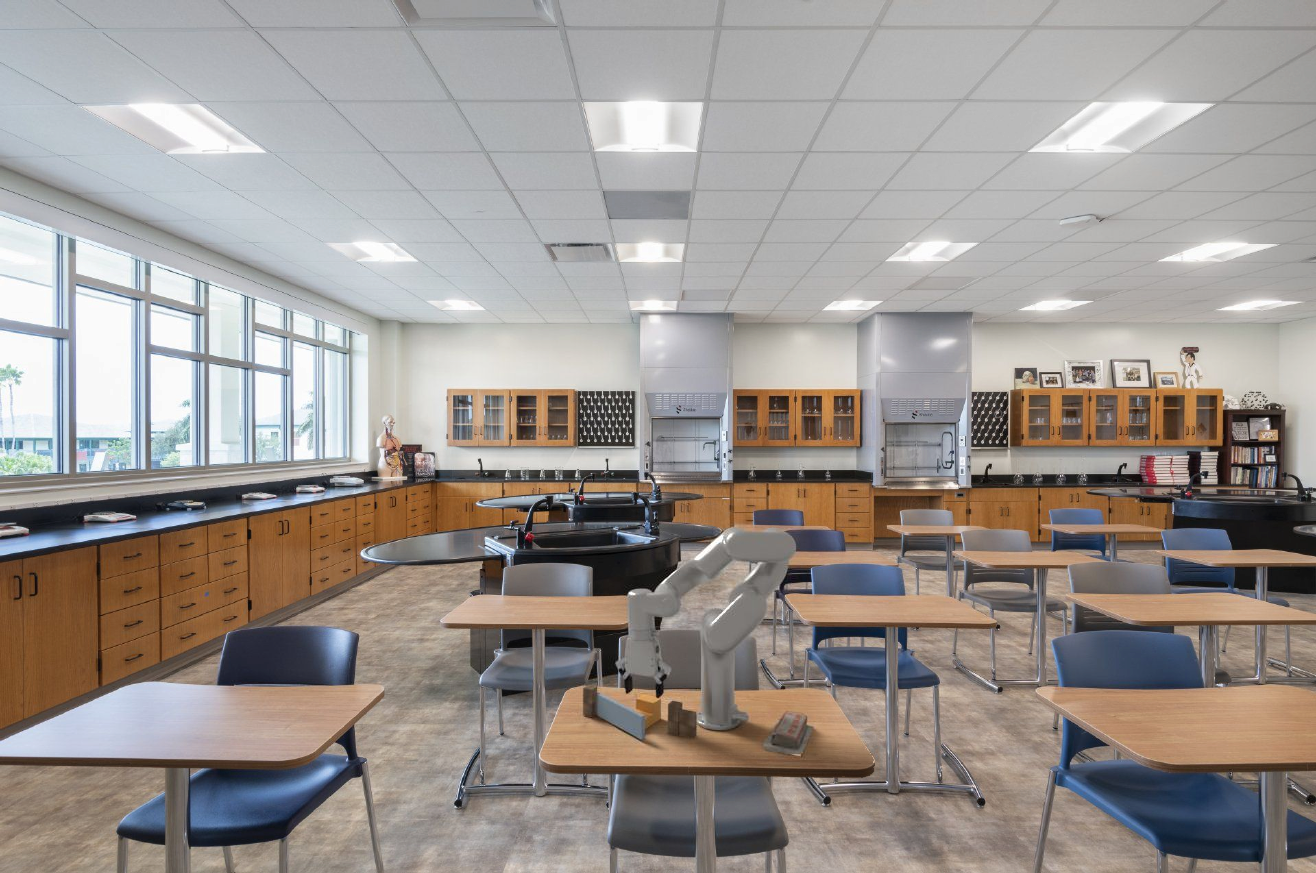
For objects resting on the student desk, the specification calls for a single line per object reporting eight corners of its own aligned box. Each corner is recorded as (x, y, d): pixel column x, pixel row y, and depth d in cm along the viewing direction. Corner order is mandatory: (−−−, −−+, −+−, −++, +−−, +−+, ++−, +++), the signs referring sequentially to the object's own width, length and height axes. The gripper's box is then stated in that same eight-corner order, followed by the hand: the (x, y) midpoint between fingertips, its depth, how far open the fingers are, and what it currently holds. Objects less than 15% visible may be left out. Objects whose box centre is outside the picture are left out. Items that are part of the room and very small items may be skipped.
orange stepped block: (643, 714, 185) (643, 694, 185) (660, 719, 182) (661, 698, 182) (621, 728, 176) (621, 706, 176) (639, 733, 173) (639, 711, 173)
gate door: (595, 714, 183) (595, 693, 183) (598, 712, 184) (598, 692, 184) (641, 739, 167) (641, 716, 167) (644, 738, 168) (644, 715, 168)
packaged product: (778, 706, 180) (813, 712, 176) (778, 724, 180) (813, 730, 176) (762, 732, 163) (801, 739, 159) (762, 751, 163) (801, 759, 159)
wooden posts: (697, 734, 171) (697, 705, 172) (693, 739, 169) (693, 709, 169) (588, 711, 186) (588, 684, 186) (582, 715, 184) (583, 687, 184)
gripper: (674, 632, 179) (677, 693, 179) (621, 627, 187) (623, 685, 186) (663, 640, 173) (666, 703, 172) (608, 634, 180) (611, 695, 180)
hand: (644, 694), depth 179 cm, fingers open, 9 cm apart
